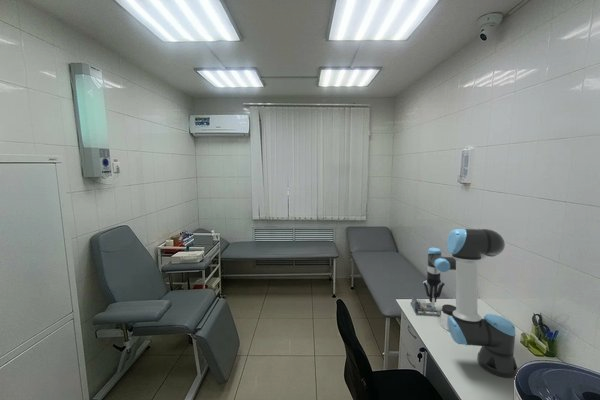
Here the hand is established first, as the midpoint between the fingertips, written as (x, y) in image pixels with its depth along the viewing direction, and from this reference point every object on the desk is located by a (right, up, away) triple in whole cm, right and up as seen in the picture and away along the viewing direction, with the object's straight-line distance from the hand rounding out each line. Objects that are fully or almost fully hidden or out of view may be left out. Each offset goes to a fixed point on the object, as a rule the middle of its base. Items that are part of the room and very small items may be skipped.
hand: (432, 306), depth 173 cm
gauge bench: (-5, -3, +1) cm, 6 cm away
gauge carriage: (-6, -1, 0) cm, 7 cm away
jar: (+1, -5, -18) cm, 18 cm away
